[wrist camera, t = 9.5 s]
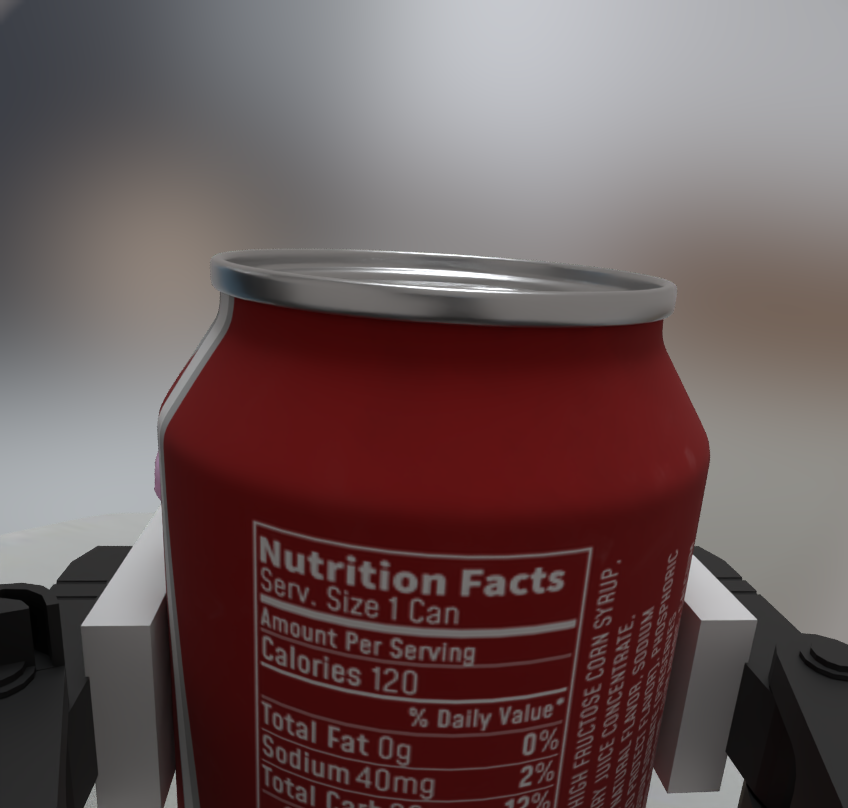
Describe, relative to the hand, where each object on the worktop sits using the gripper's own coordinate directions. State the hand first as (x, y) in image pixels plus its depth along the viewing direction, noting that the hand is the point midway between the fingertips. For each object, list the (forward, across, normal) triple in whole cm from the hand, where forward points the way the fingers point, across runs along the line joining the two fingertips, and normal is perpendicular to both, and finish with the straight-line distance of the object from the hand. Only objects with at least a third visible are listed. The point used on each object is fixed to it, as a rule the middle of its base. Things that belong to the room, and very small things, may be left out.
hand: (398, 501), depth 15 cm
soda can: (-5, 0, -7) cm, 8 cm away
